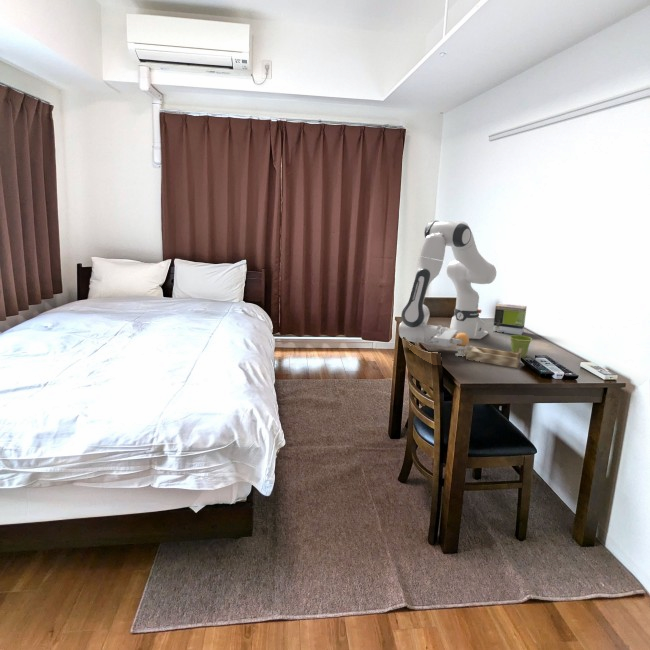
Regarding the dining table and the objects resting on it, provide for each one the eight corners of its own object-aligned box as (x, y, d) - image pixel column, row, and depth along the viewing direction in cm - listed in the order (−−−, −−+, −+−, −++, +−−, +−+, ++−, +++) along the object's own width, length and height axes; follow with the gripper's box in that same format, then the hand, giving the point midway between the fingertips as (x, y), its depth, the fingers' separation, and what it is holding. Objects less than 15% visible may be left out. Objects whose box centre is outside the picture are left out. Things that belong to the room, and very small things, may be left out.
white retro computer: (523, 331, 265) (527, 305, 262) (521, 335, 256) (525, 308, 253) (495, 327, 272) (498, 302, 268) (492, 331, 263) (495, 305, 260)
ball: (458, 343, 220) (460, 330, 219) (470, 346, 216) (472, 333, 214) (451, 345, 216) (453, 332, 214) (463, 348, 212) (465, 335, 210)
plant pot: (516, 359, 215) (519, 340, 212) (503, 353, 223) (505, 335, 221) (533, 358, 217) (536, 340, 215) (520, 352, 226) (522, 334, 224)
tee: (454, 356, 216) (455, 345, 215) (456, 353, 220) (457, 343, 219) (464, 357, 214) (465, 346, 213) (466, 355, 218) (467, 344, 217)
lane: (465, 359, 212) (467, 345, 210) (469, 354, 219) (470, 340, 218) (518, 368, 203) (520, 353, 201) (520, 362, 210) (522, 348, 209)
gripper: (428, 333, 211) (460, 338, 205) (438, 324, 229) (468, 328, 223) (427, 347, 212) (458, 352, 206) (437, 337, 230) (467, 341, 224)
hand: (464, 339), depth 215 cm, fingers closed on ball, 6 cm apart
